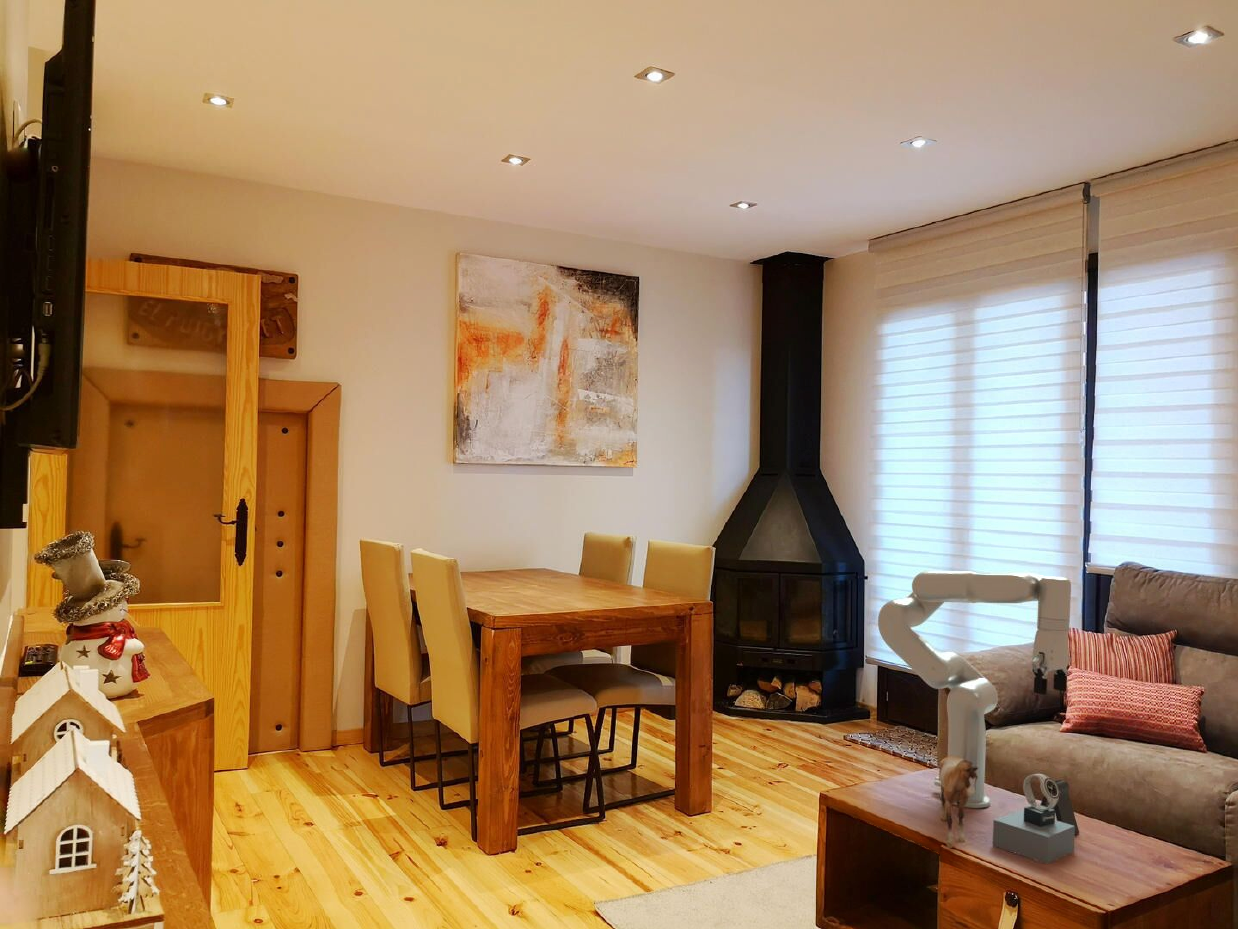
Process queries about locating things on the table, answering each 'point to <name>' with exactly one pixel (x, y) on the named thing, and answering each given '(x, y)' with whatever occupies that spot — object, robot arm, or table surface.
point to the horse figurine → (956, 790)
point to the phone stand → (1063, 806)
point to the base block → (1033, 837)
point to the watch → (1038, 812)
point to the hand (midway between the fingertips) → (1050, 692)
